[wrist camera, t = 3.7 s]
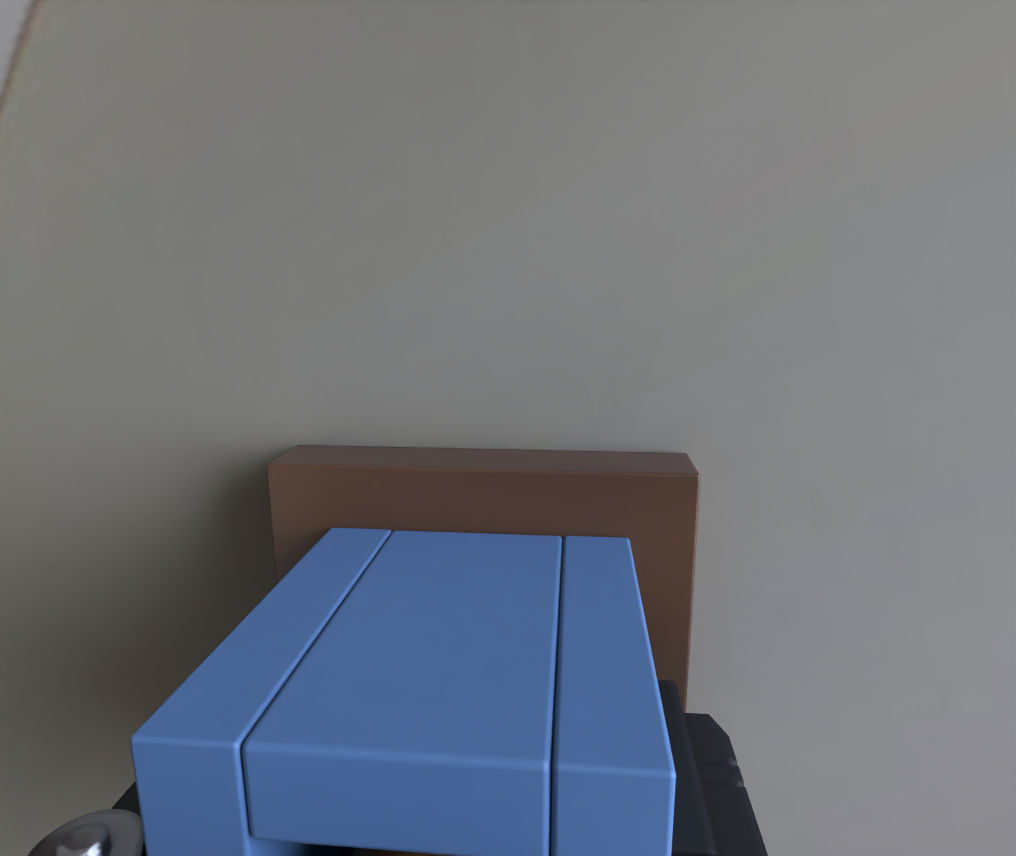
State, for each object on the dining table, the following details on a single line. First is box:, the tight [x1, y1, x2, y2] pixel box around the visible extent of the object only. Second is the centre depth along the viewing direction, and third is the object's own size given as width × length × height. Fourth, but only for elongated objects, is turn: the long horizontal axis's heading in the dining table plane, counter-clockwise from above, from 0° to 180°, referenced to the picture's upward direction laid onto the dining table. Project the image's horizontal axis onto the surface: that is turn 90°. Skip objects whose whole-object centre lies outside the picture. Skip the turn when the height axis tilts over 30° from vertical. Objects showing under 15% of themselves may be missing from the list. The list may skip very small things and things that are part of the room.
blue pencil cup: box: [130, 528, 676, 856], centre depth 10 cm, size 6×6×6 cm
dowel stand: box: [266, 445, 700, 856], centre depth 10 cm, size 8×8×9 cm
